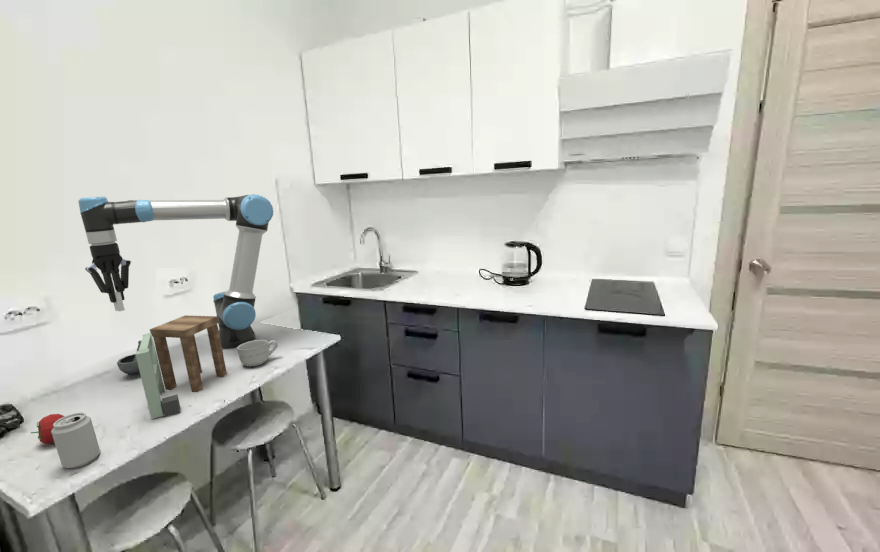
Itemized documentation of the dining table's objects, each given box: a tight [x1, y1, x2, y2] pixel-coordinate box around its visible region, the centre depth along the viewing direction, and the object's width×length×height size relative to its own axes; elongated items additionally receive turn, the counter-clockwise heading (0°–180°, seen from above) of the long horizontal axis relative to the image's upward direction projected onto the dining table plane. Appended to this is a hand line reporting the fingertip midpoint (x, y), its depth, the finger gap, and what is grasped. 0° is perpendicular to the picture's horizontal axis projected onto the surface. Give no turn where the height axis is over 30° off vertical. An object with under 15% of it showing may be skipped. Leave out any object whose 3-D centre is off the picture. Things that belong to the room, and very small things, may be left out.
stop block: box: [161, 393, 181, 418], centre depth 125 cm, size 4×4×4 cm
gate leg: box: [134, 333, 166, 420], centre depth 128 cm, size 20×3×21 cm, turn 31°
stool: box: [149, 315, 228, 393], centre depth 142 cm, size 14×14×22 cm
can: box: [51, 412, 101, 469], centre depth 103 cm, size 8×8×12 cm
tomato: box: [30, 413, 66, 445], centre depth 113 cm, size 8×8×8 cm
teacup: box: [236, 339, 278, 367], centre depth 157 cm, size 14×11×8 cm
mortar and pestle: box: [116, 340, 142, 380], centre depth 152 cm, size 11×9×12 cm
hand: (120, 310), depth 143 cm, fingers closed
